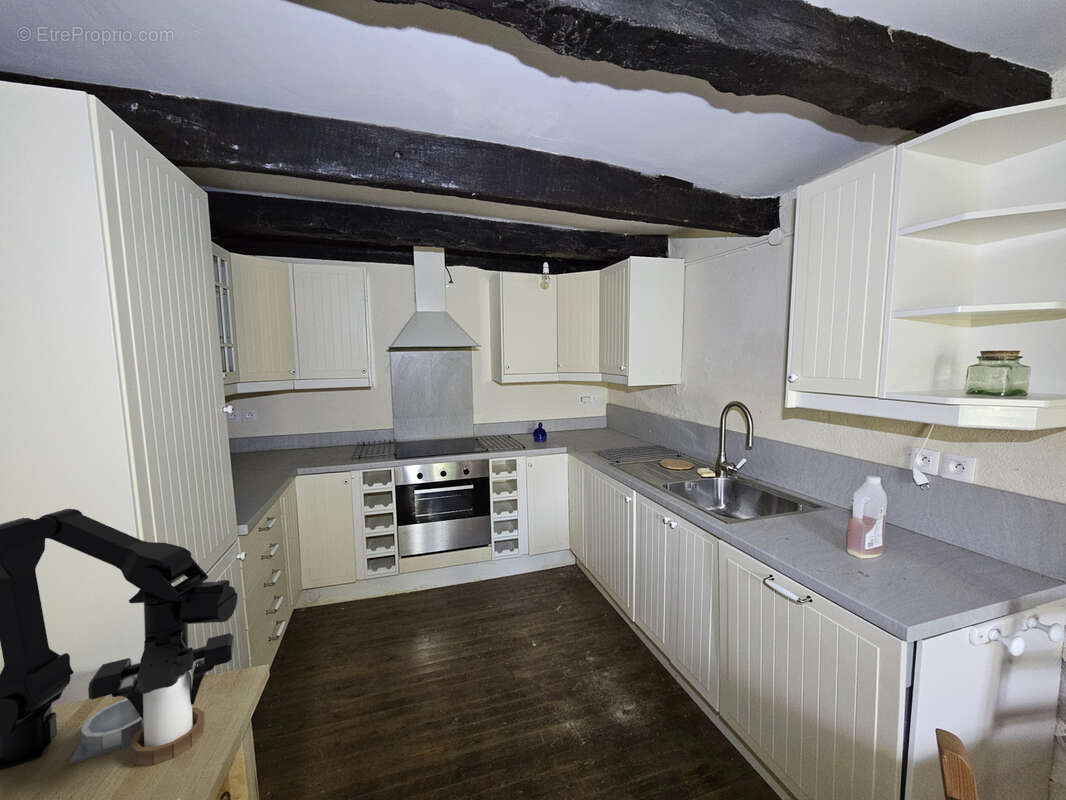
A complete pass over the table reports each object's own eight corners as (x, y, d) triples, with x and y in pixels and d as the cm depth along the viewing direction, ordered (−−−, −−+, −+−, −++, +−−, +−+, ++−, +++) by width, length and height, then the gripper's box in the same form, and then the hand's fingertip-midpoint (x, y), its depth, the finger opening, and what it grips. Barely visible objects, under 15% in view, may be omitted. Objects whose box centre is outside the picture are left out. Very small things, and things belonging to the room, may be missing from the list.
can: (135, 761, 71) (133, 690, 71) (158, 731, 78) (155, 666, 77) (181, 752, 73) (179, 683, 73) (199, 723, 79) (197, 660, 79)
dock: (70, 764, 71) (70, 746, 71) (92, 723, 79) (92, 707, 79) (150, 738, 76) (149, 722, 76) (163, 702, 85) (162, 688, 84)
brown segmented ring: (124, 775, 69) (123, 760, 69) (140, 733, 77) (140, 720, 77) (199, 749, 74) (199, 735, 74) (207, 712, 82) (206, 700, 82)
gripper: (72, 667, 63) (76, 770, 64) (227, 629, 73) (230, 719, 73) (99, 630, 73) (102, 720, 73) (233, 601, 82) (235, 681, 83)
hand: (169, 710), depth 75 cm, fingers closed on can, 6 cm apart
